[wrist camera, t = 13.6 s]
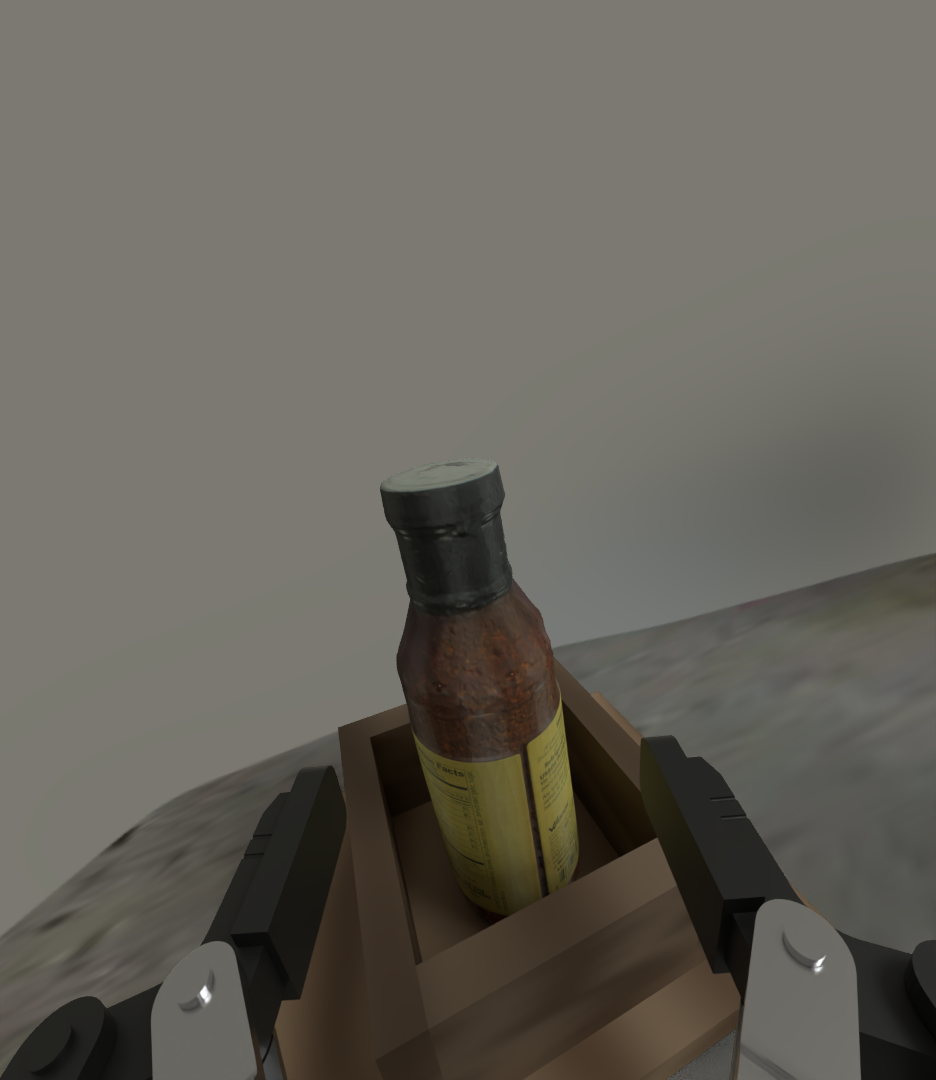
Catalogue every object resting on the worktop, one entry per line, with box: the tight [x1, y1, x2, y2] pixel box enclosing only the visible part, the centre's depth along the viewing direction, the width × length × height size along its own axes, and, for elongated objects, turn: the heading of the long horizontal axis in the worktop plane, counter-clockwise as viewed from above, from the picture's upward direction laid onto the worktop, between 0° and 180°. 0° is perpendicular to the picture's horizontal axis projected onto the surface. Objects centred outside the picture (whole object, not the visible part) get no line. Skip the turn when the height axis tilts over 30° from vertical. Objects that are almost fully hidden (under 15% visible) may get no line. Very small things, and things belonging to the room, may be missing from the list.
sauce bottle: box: [380, 458, 579, 925], centre depth 18 cm, size 7×6×20 cm
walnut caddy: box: [275, 657, 834, 1080], centre depth 21 cm, size 22×16×8 cm
